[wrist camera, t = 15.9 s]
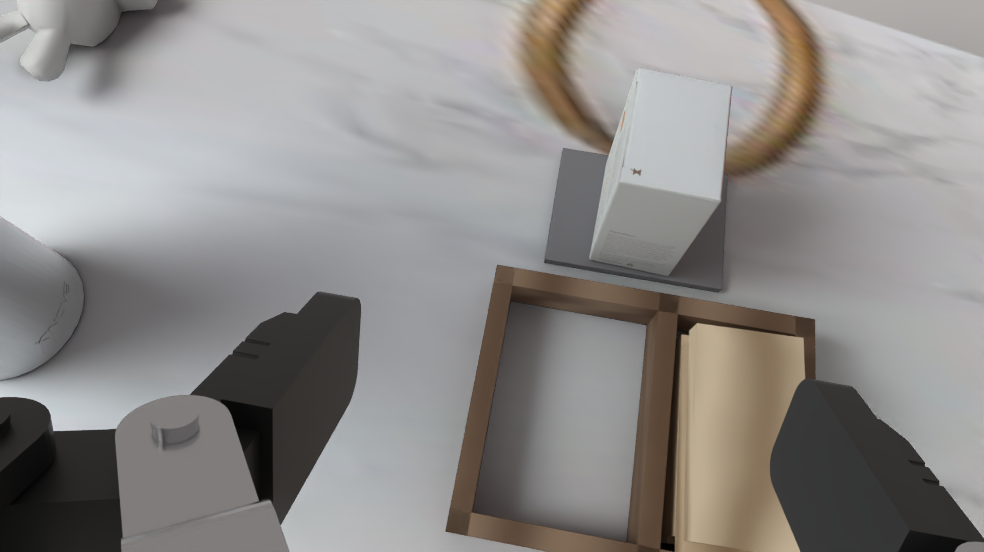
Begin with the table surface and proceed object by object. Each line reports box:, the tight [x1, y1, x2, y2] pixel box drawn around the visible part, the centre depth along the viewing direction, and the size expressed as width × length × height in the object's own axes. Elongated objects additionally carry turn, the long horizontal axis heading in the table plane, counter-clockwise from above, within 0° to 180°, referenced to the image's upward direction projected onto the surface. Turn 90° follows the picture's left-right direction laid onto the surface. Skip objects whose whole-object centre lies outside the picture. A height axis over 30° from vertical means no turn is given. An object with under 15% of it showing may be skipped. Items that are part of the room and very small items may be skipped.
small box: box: [589, 68, 732, 276], centre depth 39 cm, size 8×6×10 cm
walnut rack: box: [446, 265, 815, 552], centre depth 38 cm, size 20×16×3 cm
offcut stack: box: [661, 323, 805, 552], centre depth 36 cm, size 6×12×6 cm, turn 172°
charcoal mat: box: [544, 148, 727, 292], centre depth 44 cm, size 12×9×1 cm
